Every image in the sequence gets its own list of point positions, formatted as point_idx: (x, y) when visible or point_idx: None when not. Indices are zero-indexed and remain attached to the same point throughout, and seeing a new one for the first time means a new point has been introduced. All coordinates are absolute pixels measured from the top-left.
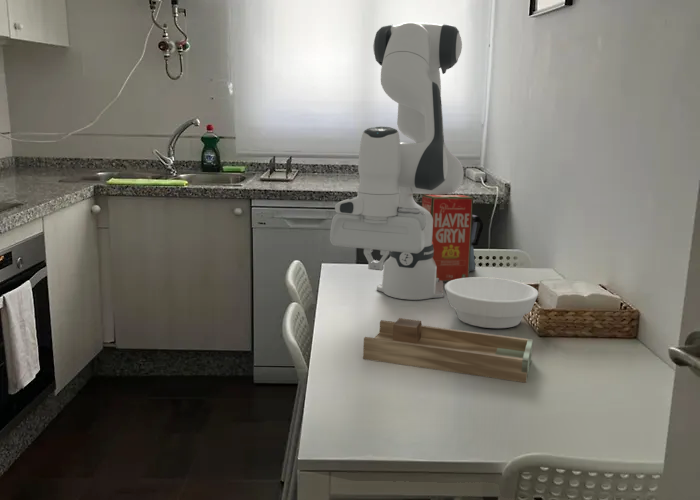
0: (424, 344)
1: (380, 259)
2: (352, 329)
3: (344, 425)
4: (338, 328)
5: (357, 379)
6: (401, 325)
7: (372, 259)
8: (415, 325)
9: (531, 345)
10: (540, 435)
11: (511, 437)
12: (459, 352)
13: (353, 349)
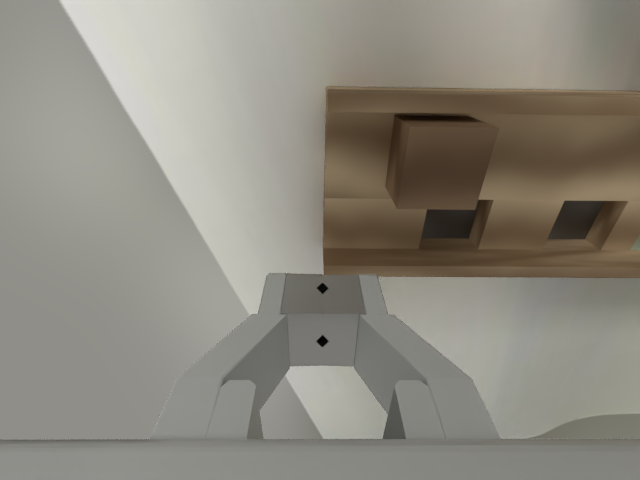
0: None
1: (375, 396)
2: (200, 11)
3: (362, 426)
4: (149, 22)
5: None
6: (424, 206)
7: (281, 339)
8: (473, 188)
9: None
10: (609, 390)
11: (567, 401)
12: (572, 276)
13: (280, 198)
